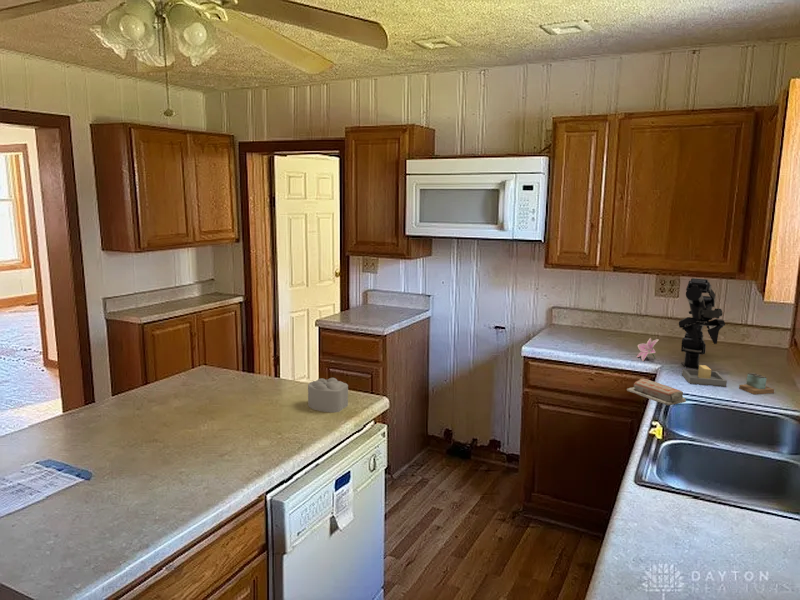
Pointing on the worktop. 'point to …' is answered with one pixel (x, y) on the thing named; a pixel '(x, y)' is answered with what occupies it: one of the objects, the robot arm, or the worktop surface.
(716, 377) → the stub tray
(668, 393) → the packaged product
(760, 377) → the ticket holder
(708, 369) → the stub
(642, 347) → the lily
